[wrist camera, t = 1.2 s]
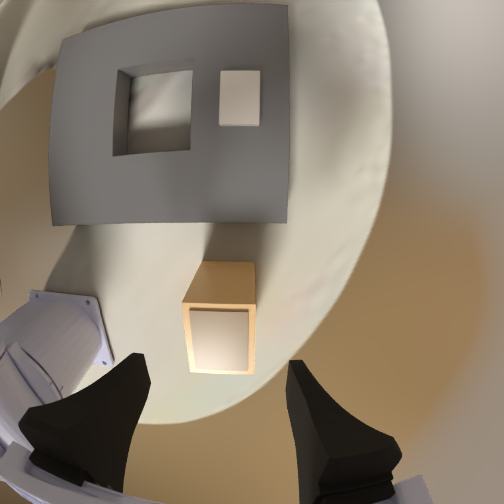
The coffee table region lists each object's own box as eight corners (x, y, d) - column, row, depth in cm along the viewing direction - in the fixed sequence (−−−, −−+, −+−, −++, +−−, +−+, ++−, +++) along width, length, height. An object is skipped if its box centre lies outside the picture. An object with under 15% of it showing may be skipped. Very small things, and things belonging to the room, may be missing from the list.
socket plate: (69, 219, 20) (46, 228, 17) (76, 48, 16) (57, 37, 12) (282, 216, 20) (288, 225, 17) (283, 20, 16) (288, 0, 13)
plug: (205, 317, 23) (190, 373, 16) (202, 261, 21) (180, 303, 15) (253, 318, 23) (254, 375, 16) (254, 261, 21) (255, 305, 15)
